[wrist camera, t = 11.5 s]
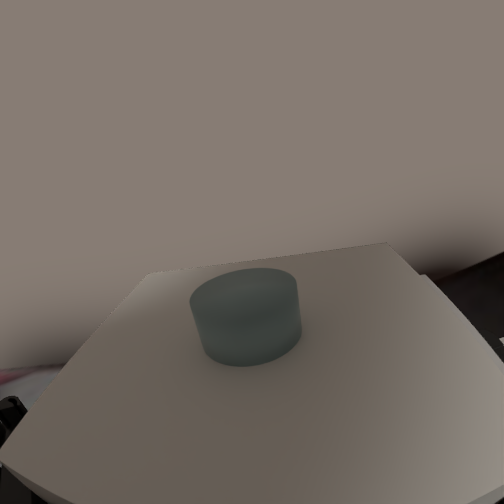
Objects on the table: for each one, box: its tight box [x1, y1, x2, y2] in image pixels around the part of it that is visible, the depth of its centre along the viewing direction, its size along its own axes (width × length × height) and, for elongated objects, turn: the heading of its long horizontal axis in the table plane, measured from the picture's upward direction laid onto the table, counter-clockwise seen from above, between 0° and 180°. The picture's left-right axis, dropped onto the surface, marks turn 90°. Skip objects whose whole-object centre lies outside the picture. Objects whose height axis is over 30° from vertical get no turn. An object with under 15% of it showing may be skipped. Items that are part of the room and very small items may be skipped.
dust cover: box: [0, 243, 504, 504], centre depth 8 cm, size 10×10×11 cm
